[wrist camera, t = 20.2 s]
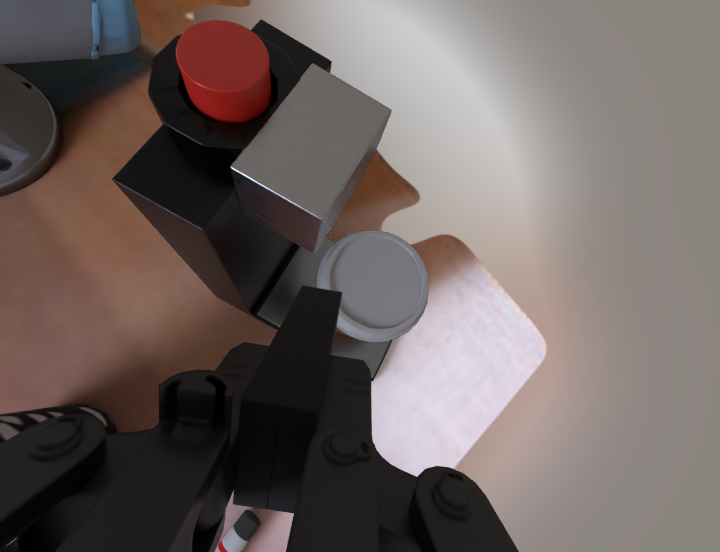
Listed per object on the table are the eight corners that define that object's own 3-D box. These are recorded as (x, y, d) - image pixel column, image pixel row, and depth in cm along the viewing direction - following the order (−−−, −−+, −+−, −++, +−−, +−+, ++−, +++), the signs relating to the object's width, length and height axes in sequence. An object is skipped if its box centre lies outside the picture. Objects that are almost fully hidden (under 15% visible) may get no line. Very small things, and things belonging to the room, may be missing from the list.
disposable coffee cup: (388, 355, 38) (431, 347, 27) (302, 344, 37) (309, 331, 26) (395, 274, 41) (437, 236, 30) (315, 260, 40) (327, 215, 28)
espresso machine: (307, 230, 42) (336, 31, 18) (413, 291, 43) (584, 180, 18) (252, 316, 38) (192, 212, 14) (370, 381, 39) (515, 394, 14)
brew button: (218, 46, 16) (210, 5, 15) (285, 86, 17) (285, 50, 15) (170, 96, 15) (155, 59, 13) (243, 138, 15) (237, 106, 14)
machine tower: (267, 207, 42) (240, -27, 17) (314, 234, 42) (353, 41, 18) (207, 291, 38) (65, 141, 13) (260, 320, 38) (214, 225, 14)
